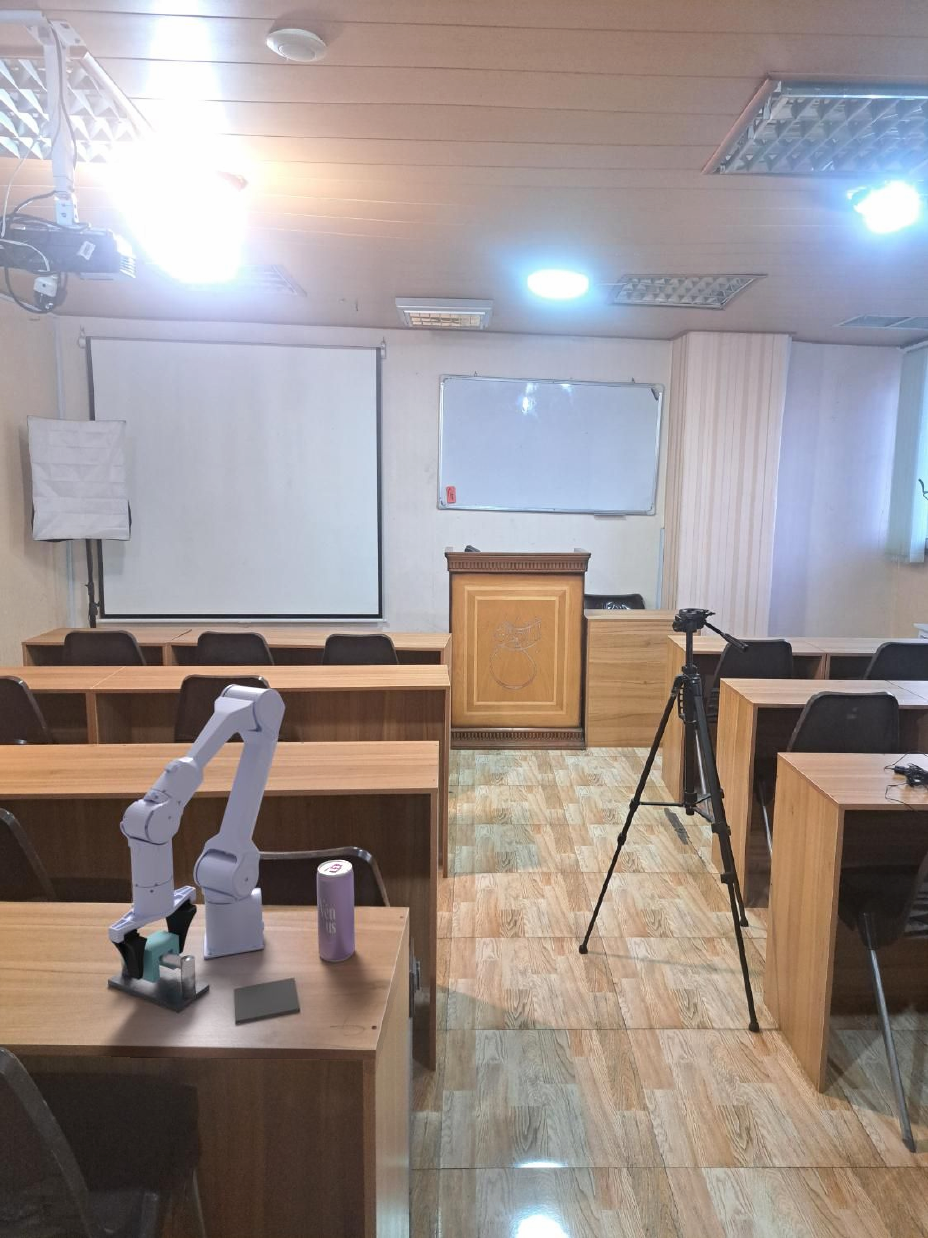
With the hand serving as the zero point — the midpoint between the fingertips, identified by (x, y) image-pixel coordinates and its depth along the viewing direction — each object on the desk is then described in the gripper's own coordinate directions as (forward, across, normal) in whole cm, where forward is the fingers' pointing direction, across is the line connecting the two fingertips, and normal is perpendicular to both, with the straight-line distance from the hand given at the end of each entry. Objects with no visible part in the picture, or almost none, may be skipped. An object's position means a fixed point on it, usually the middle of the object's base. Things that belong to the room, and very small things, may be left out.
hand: (157, 964), depth 113 cm
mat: (+4, -5, +17) cm, 18 cm away
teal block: (+1, 0, 0) cm, 1 cm away
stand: (+4, 0, 0) cm, 4 cm away
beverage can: (+4, -20, +19) cm, 28 cm away
